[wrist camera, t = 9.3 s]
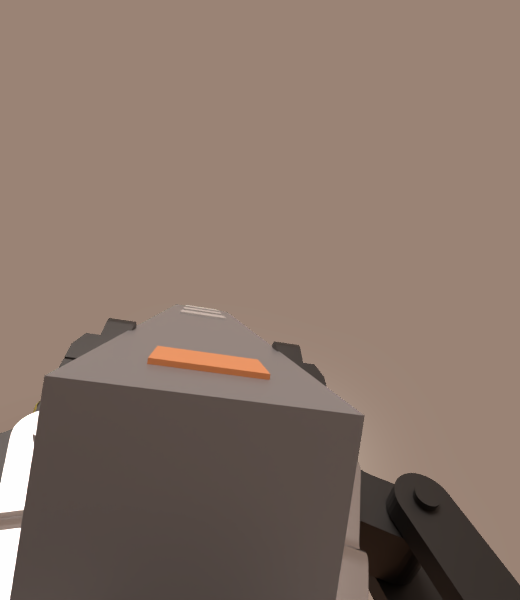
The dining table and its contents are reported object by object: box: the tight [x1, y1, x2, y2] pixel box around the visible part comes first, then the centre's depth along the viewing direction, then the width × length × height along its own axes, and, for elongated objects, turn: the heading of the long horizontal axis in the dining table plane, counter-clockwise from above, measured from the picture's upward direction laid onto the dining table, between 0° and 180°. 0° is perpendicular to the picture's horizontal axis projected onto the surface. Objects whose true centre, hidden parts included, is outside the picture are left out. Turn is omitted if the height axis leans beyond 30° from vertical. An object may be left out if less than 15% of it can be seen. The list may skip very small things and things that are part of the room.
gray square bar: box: [9, 304, 364, 600], centre depth 20 cm, size 30×4×4 cm, turn 8°
